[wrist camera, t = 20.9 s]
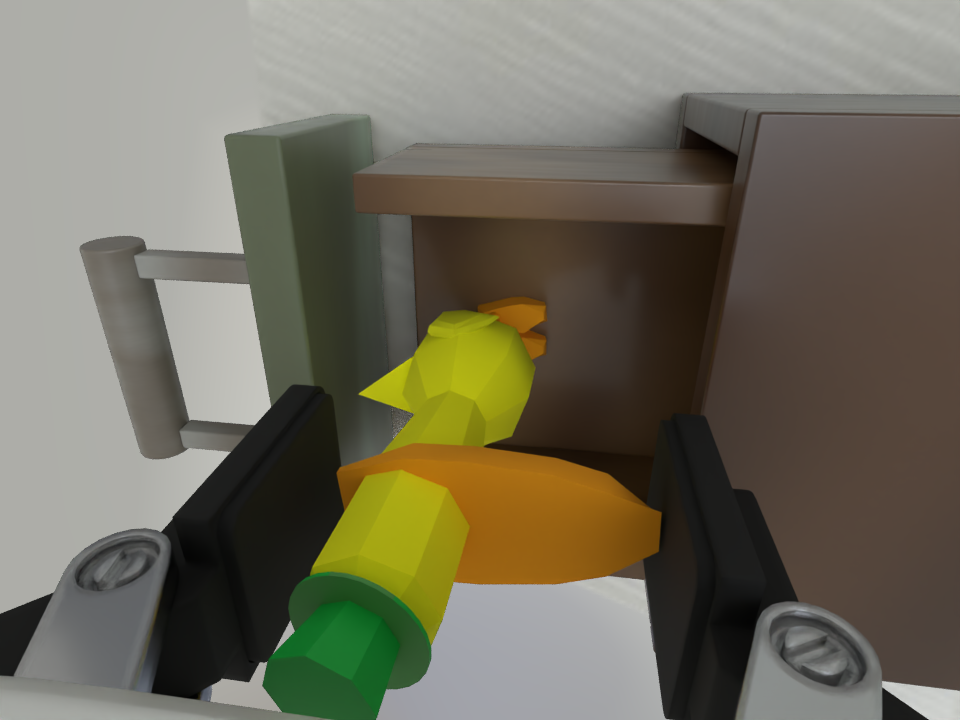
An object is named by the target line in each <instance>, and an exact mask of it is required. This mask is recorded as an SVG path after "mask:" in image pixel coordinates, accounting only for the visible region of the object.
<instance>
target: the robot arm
mask: <svg viewBox="0 0 960 720" xmlns="http://www.w3.org/2000/svg"><path fill="white" fill-rule="evenodd" d="M340 467H341V459H340V450H339V442H338V434H337V426H336V417H335V409H334V401H333V398H332V395H330V394H325V391H324V389H323V388H322V387H321V386H311V385H298V384H293V385H291V386H290V387H289V388H288V389H287V390H286V391H285V392H284V394H283V395H282V396H281V397H280V398H279V399H278V400H277V401H276V402H275V404H274V405H273V406H272V407H271V408H270V409H269V410H268V412H266V414H265V415H264V416H263V417H262V418H261V419H260V420H259V421H258V423H257V424H256V425H255V426H254V427H253V428H252V429H251V430H250V431H249V432H248V434H247V435H246V436H245V437H244V438H243V439H242V440H241V441H240V442H239V444H238V445H237V446H236V447H235V448H234V449H233V450H232V451H231V453H230V454H229V455H228V456H227V457H226V458H225V459H224V460H223V461H222V463H221V464H220V465H219V466H218V467H217V468H216V469H215V470H214V472H213V473H212V474H211V475H210V476H209V477H208V478H207V479H206V480H205V482H204V483H203V484H202V485H201V486H200V487H199V488H198V489H197V490H196V492H195V493H194V494H193V495H192V496H191V497H190V498H189V499H188V501H187V502H186V503H185V504H184V505H183V506H182V507H181V508H180V509H179V511H178V512H177V513H176V514H175V515H174V516H173V519H172V521H171V522H170V523H169V524H168V525H167V526H166V527H165V529H163V531H162V532H159V531H157V530H152V529H145V528H144V529H131V530H126V531H122V532H118V533H114V534H112V535H110V536H107V537H105V538H102V539H100V540H98V541H97V542H95V543H93V544H91V545H90V546H88V547H87V548H85V549H84V550H83V551H81V552H80V553H79V554H78V555H77V556H76V557H75V558H73V560H72V561H71V562H70V564H69V565H68V567H67V568H66V570H65V571H64V573H63V575H62V577H61V580H60V581H59V583H58V585H57V588H56V590H55V592H54V593H51V594H49V595H46V596H44V597H42V598H39V599H36V600H34V601H31V602H29V603H26V604H24V605H21V606H19V607H16V608H14V609H11V610H9V611H6V612H4V613H1V614H0V720H331V719H324V718H318V717H311V716H304V715H298V714H291V713H284V712H277V711H270V710H264V709H257V708H250V707H243V706H235V705H229V704H221V703H215V702H210V699H211V693H212V685H213V684H215V683H217V682H219V681H220V680H221V679H222V678H223V679H230V680H237V681H244V682H249V681H250V680H251V677H252V676H253V674H254V672H255V670H256V668H257V666H258V665H259V663H260V662H263V663H265V662H267V661H268V659H269V658H270V657H271V656H272V654H273V653H274V651H275V649H276V647H277V645H278V643H279V641H280V639H281V637H282V635H283V633H284V631H285V629H286V627H287V626H288V624H289V622H290V615H289V609H288V607H289V600H290V596H291V594H292V593H293V591H294V589H295V587H296V586H297V585H298V584H299V583H300V582H301V581H302V580H304V579H305V578H306V577H309V576H310V574H311V570H312V567H313V565H314V563H315V561H316V560H317V558H318V556H319V555H320V553H321V551H322V549H323V548H324V546H325V544H326V543H327V541H328V539H329V538H330V536H331V534H332V532H333V531H334V529H335V527H336V526H337V524H338V522H339V520H340V519H341V517H342V515H343V514H344V512H345V511H344V506H343V501H342V497H341V492H340V487H339V483H338V478H337V471H338V470H339V468H340ZM646 505H647V506H649V507H650V508H651V509H653V510H656V511H659V512H662V514H661V527H660V540H659V552H657V553H655V554H653V555H651V556H649V557H646V558H644V559H643V564H644V571H645V579H646V586H647V594H648V601H649V608H650V616H651V623H652V631H653V638H654V646H655V653H656V660H657V667H658V676H659V683H660V690H661V698H662V705H663V711H664V716H665V718H666V719H670V720H928V719H927V718H925V717H924V716H923V715H921V714H920V713H918V712H917V711H915V710H914V709H912V708H911V707H910V706H908V705H907V704H905V703H904V702H902V701H901V700H899V699H898V698H897V697H895V696H894V695H892V694H891V693H889V692H888V691H886V690H885V689H884V688H882V670H881V666H880V661H879V657H878V655H877V654H876V652H875V650H874V649H873V647H872V645H871V644H870V642H869V641H868V640H867V639H866V638H865V637H864V636H863V635H862V634H861V633H860V632H859V631H858V630H857V629H856V628H855V627H854V626H853V625H851V624H850V623H848V622H847V621H846V620H844V619H843V618H841V617H840V616H838V615H836V614H834V613H832V612H830V611H828V610H826V609H824V608H822V607H818V606H815V605H811V604H807V603H804V602H799V601H798V598H797V596H796V593H795V591H794V589H793V586H792V584H791V581H790V579H789V576H788V574H787V572H786V569H785V567H784V564H783V562H782V560H781V557H780V555H779V552H778V550H777V548H776V545H775V543H774V540H773V538H772V536H771V533H770V531H769V528H768V526H767V524H766V521H765V519H764V516H763V514H762V511H761V509H760V507H759V504H758V502H757V499H756V497H755V496H754V494H753V492H751V491H750V490H744V489H733V488H732V486H731V483H730V481H729V478H728V475H727V472H726V470H725V467H724V464H723V462H722V459H721V456H720V453H719V451H718V448H717V445H716V443H715V440H714V437H713V435H712V432H711V429H710V426H709V424H708V421H707V418H706V417H705V416H704V415H693V414H680V413H673V414H672V416H671V419H670V420H661V421H660V424H659V429H658V435H657V442H656V448H655V454H654V460H653V467H652V473H651V479H650V485H649V491H648V498H647V504H646Z"/></svg>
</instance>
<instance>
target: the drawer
mask: <svg viewBox="0 0 960 720" xmlns="http://www.w3.org/2000/svg"><path fill="white" fill-rule="evenodd" d="M224 141H225V147H226V152H227V158H228V164H229V169H230V175H231V180H232V186H233V192H234V198H235V203H236V209H237V214H238V220H239V226H240V231H241V238H242V243H243V248H244V254H235V253H234V254H233V253H213V252H192V251H170V250H147V249H146V245H145V242H144V240H143V239H142V238H139V237H133V236H117V237H107V238H102V239H96V240H93V241H89V242H87V243H85V244H83V245H81V246H80V253H81V256H82V259H83V262H84V266H85V269H86V272H87V275H88V279H89V282H90V286H91V289H92V292H93V296H94V299H95V302H96V306H97V309H98V312H99V316H100V319H101V322H102V325H103V329H104V332H105V336H106V339H107V342H108V346H109V349H110V352H111V356H112V359H113V362H114V365H115V369H116V372H117V376H118V379H119V382H120V386H121V389H122V392H123V395H124V399H125V402H126V406H127V408H128V412H129V416H130V419H131V422H132V425H133V428H134V432H135V435H136V439H137V442H138V445H139V449H140V452H141V454H142V455H143V456H144V457H146V458H149V459H165V458H170V457H173V456H176V455H178V454H180V453H182V452H184V451H186V450H187V449H188V448H196V449H207V450H218V451H228V452H231V451H232V450H233V449H234V448H235V447H236V446H237V445H238V444H239V442H240V441H241V440H242V439H243V438H244V437H245V436H246V435H247V434H248V432H249V431H250V430H251V429H252V428H253V427H254V426H255V425H245V424H233V423H221V422H209V421H198V420H190V421H189V417H188V413H187V409H186V406H185V402H184V397H183V394H182V390H181V385H180V382H179V377H178V373H177V369H176V365H175V361H174V358H173V353H172V349H171V345H170V342H169V337H168V334H167V329H166V325H165V321H164V317H163V313H162V309H161V305H160V301H159V298H158V293H157V290H156V285H155V282H154V279H164V280H183V281H201V282H219V283H238V284H250V288H251V294H252V300H253V306H254V311H255V317H256V323H257V328H258V334H259V340H260V345H261V351H262V357H263V362H264V368H265V373H266V380H267V385H268V391H269V397H270V402H271V407H272V406H273V405H274V404H275V402H276V401H277V400H278V399H279V398H280V397H281V396H282V395H283V394H284V392H285V391H286V390H287V389H288V388H289V387H290V386H291V385H293V384H298V385H311V386H321V387H322V388H323V389H324V391H325V394H330V395H332V398H333V401H334V409H335V417H336V426H337V434H338V442H339V450H340V459H341V467H343V466H346V465H349V464H352V463H355V462H358V461H361V460H364V459H367V458H370V457H373V456H376V455H379V454H381V453H382V452H383V451H384V450H385V449H386V447H387V446H388V445H389V444H390V443H391V442H392V440H393V426H392V413H391V405H388V404H385V403H382V402H379V401H376V400H373V399H371V398H368V397H365V396H362V395H359V393H360V392H362V391H363V390H365V389H366V388H368V387H369V386H371V385H372V384H373V383H375V382H376V381H378V380H379V379H381V378H382V377H384V376H385V375H387V374H388V373H389V371H388V358H387V344H386V330H385V316H384V303H383V289H382V275H381V261H380V248H379V234H378V220H377V214H393V215H411V218H412V239H413V260H414V281H415V302H416V323H417V344H418V347H419V346H420V344H421V343H422V341H423V340H424V338H425V337H426V335H427V334H428V332H427V331H428V328H429V325H430V324H432V323H433V322H434V321H435V320H436V319H437V318H438V317H439V316H440V315H441V314H442V313H443V312H446V311H457V310H468V311H473V312H478V305H481V304H485V303H489V302H493V301H498V300H502V299H506V298H510V297H523V296H524V297H528V298H531V299H535V300H538V301H542V302H545V305H546V312H547V321H546V322H543V323H540V324H538V325H535V326H534V327H532V328H531V329H529V330H530V331H533V332H536V333H538V334H541V335H544V336H545V337H546V340H547V343H546V355H543V356H539V357H536V358H535V359H533V360H532V361H533V363H534V365H535V367H536V368H535V373H534V377H533V381H532V385H531V390H530V394H529V398H528V400H527V403H526V405H525V407H524V409H523V412H522V414H521V416H520V419H519V421H518V423H517V425H516V428H515V430H514V432H513V435H512V436H511V437H508V438H505V439H502V440H499V441H496V442H492V443H489V444H487V445H485V446H484V447H485V448H491V449H498V450H505V451H512V452H519V453H526V454H533V455H539V456H546V457H553V458H558V459H561V460H565V461H568V462H571V463H575V464H578V465H581V466H584V467H588V468H591V469H594V470H597V471H601V472H604V473H607V474H609V475H610V476H612V477H613V478H614V479H615V480H617V481H618V482H619V483H620V484H621V485H623V486H624V487H625V488H626V489H628V490H629V491H630V492H631V493H633V494H634V495H635V496H636V497H637V498H639V499H640V500H641V501H642V502H644V503H645V504H647V498H648V491H649V485H650V479H651V473H652V467H653V460H654V454H655V448H656V442H657V435H658V429H659V424H660V421H661V420H670V419H671V416H672V414H673V413H680V414H690V413H691V408H692V402H693V397H694V392H695V386H696V381H697V376H698V370H699V365H700V360H701V354H702V349H703V343H704V338H705V333H706V327H707V322H708V317H709V311H710V306H711V301H712V295H713V290H714V285H715V279H716V274H717V269H718V263H719V258H720V253H721V247H722V242H723V236H724V231H725V226H726V220H727V215H728V210H729V204H730V199H731V194H732V188H733V183H734V178H735V172H736V167H737V162H738V155H736V154H734V153H732V152H730V151H728V150H711V149H663V148H615V147H567V146H519V145H471V144H423V143H416V144H414V145H412V146H410V147H408V148H406V149H404V150H402V151H399V152H397V153H395V154H393V155H391V156H389V157H387V158H385V159H383V160H381V161H379V162H377V163H375V164H373V151H372V137H371V124H370V117H369V115H359V114H330V115H325V116H319V117H314V118H309V119H304V120H299V121H294V122H289V123H284V124H279V125H273V126H268V127H263V128H258V129H253V130H249V131H243V132H238V133H233V134H228V135H226V136H225V138H224ZM608 576H614V577H623V578H632V579H641V580H646V579H645V571H644V564H643V559H642V560H640V561H638V562H636V563H634V564H632V565H629V566H627V567H625V568H623V569H621V570H619V571H617V572H615V573H613V574H610V575H608Z"/></svg>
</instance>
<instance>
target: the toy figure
mask: <svg viewBox="0 0 960 720" xmlns="http://www.w3.org/2000/svg"><path fill="white" fill-rule="evenodd" d="M546 321H547V312H546V305H545V302H542V301H538V300H535V299H531V298H528V297H524V296H523V297H510V298H506V299H502V300H498V301H493V302H489V303H485V304H481V305H478V312H473V311H468V310H457V311H446V312H443V313H442V314H441V315H440V316H439V317H438V318H437V319H436V320H435V321H434V322H433V323H432V324H430V325H429V328H428V331H427V332H428V334H427V335H426V337H425V338H424V340H423V341H422V343H421V344H420V346H419V347H418V349H417V350H416V352H415V353H414V356H413V357H411V358H410V359H408V360H407V361H406V362H404V363H403V364H401V365H400V366H398V367H397V368H395V369H394V370H392V371H391V372H389V373H388V374H387V375H385V376H384V377H382V378H381V379H379V380H378V381H376V382H375V383H373V384H372V385H371V386H369V387H368V388H366V389H365V390H363V391H362V392H360V393H359V395H362V396H365V397H368V398H371V399H373V400H376V401H379V402H382V403H385V404H388V405H391V406H394V407H396V408H399V409H402V410H405V411H408V412H411V413H414V416H413V417H412V418H411V419H410V420H409V421H408V423H407V424H406V425H405V426H404V427H403V429H402V430H401V431H400V432H399V433H398V434H397V436H396V437H395V438H394V439H393V440H392V442H391V443H390V444H389V445H388V446H387V447H386V449H385V450H384V451H383V452H382V453H381V454H379V455H376V456H373V457H370V458H367V459H364V460H361V461H358V462H355V463H352V464H349V465H346V466H343V467H340V468H339V470H338V471H337V478H338V483H339V487H340V492H341V497H342V501H343V506H344V511H345V512H344V514H343V515H342V517H341V519H340V520H339V522H338V524H337V526H336V527H335V529H334V531H333V532H332V534H331V536H330V538H329V539H328V541H327V543H326V544H325V546H324V548H323V549H322V551H321V553H320V555H319V556H318V558H317V560H316V561H315V563H314V565H313V567H312V570H311V574H310V576H309V577H306V578H305V579H304V580H302V581H301V582H300V583H299V584H298V585H297V586H296V587H295V589H294V591H293V593H292V594H291V596H290V600H289V607H288V609H289V615H290V620H291V623H292V625H293V627H294V630H295V632H294V634H292V635H291V636H290V637H289V638H288V639H287V640H286V641H285V642H284V643H283V644H282V645H281V646H280V647H279V648H278V650H277V651H276V652H275V653H274V654H273V655H272V656H271V657H270V658H269V659H268V662H267V667H266V671H265V676H264V681H263V685H262V686H263V687H264V689H265V690H266V691H267V693H268V694H269V695H270V696H271V698H272V699H273V701H274V702H275V703H276V704H277V706H278V707H279V708H280V710H281V711H282V712H284V713H291V714H298V715H304V716H311V717H318V718H324V719H331V720H376V718H377V715H378V712H379V709H380V706H381V703H382V700H383V697H384V694H385V691H386V689H400V688H405V687H409V686H411V685H413V684H415V683H416V682H418V681H419V680H420V679H421V678H422V677H423V676H424V675H425V674H426V672H427V669H428V667H429V664H430V661H431V645H432V643H433V640H434V638H435V636H436V634H437V631H438V629H439V626H440V624H441V622H442V620H443V616H444V613H445V610H446V606H447V603H448V599H449V596H450V592H451V589H452V586H453V582H458V583H470V584H561V583H567V582H574V581H580V580H586V579H593V578H599V577H606V576H608V575H610V574H613V573H615V572H617V571H619V570H621V569H623V568H625V567H627V566H629V565H632V564H634V563H636V562H638V561H640V560H642V559H644V558H646V557H649V556H651V555H653V554H655V553H657V552H659V540H660V527H661V514H662V512H659V511H656V510H653V509H651V508H650V507H649V506H647V505H646V504H645V503H644V502H642V501H641V500H640V499H639V498H637V497H636V496H635V495H634V494H633V493H631V492H630V491H629V490H628V489H626V488H625V487H624V486H623V485H621V484H620V483H619V482H618V481H617V480H615V479H614V478H613V477H612V476H610V475H609V474H607V473H604V472H601V471H597V470H594V469H591V468H588V467H584V466H581V465H578V464H575V463H571V462H568V461H565V460H561V459H558V458H553V457H546V456H539V455H533V454H526V453H519V452H512V451H505V450H498V449H491V448H485V447H484V446H485V445H487V444H489V443H492V442H496V441H499V440H502V439H505V438H508V437H511V436H512V435H513V432H514V430H515V428H516V425H517V423H518V421H519V419H520V416H521V414H522V412H523V409H524V407H525V405H526V403H527V400H528V398H529V394H530V390H531V385H532V381H533V377H534V373H535V368H536V367H535V365H534V363H533V361H532V360H533V359H535V358H536V357H539V356H543V355H546V343H547V340H546V337H545V336H544V335H541V334H538V333H536V332H533V331H530V330H529V329H531V328H532V327H534V326H535V325H538V324H540V323H543V322H546Z"/></svg>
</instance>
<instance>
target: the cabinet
mask: <svg viewBox="0 0 960 720" xmlns="http://www.w3.org/2000/svg"><path fill="white" fill-rule="evenodd" d="M675 149H711V150H728V151H730V152H732V153H734V154H736V155H738V162H737V167H736V172H735V178H734V183H733V188H732V194H731V199H730V204H729V210H728V215H727V220H726V226H725V231H724V236H723V242H722V247H721V253H720V258H719V263H718V269H717V274H716V279H715V285H714V290H713V295H712V301H711V306H710V311H709V317H708V322H707V327H706V333H705V338H704V343H703V349H702V354H701V360H700V365H699V370H698V376H697V381H696V386H695V392H694V397H693V402H692V408H691V413H690V414H693V415H704V416H705V417H706V418H707V421H708V424H709V426H710V429H711V432H712V435H713V437H714V440H715V443H716V445H717V448H718V451H719V453H720V456H721V459H722V462H723V464H724V467H725V470H726V472H727V475H728V478H729V481H730V483H731V486H732V488H733V489H744V490H750V491H751V492H753V494H754V496H755V497H756V499H757V502H758V504H759V507H760V509H761V511H762V514H763V516H764V519H765V521H766V524H767V526H768V528H769V531H770V533H771V536H772V538H773V540H774V543H775V545H776V548H777V550H778V552H779V555H780V557H781V560H782V562H783V564H784V567H785V569H786V572H787V574H788V576H789V579H790V581H791V584H792V586H793V589H794V591H795V593H796V596H797V598H798V601H799V602H804V603H807V604H811V605H815V606H818V607H822V608H824V609H826V610H828V611H830V612H832V613H834V614H836V615H838V616H840V617H841V618H843V619H844V620H846V621H847V622H848V623H850V624H851V625H853V626H854V627H855V628H856V629H857V630H858V631H859V632H860V633H861V634H862V635H863V636H864V637H865V638H866V639H867V640H868V641H869V642H870V644H871V645H872V647H873V649H874V650H875V652H876V654H877V655H878V657H879V661H880V666H881V670H882V681H886V682H894V683H902V684H910V685H918V686H926V687H934V688H942V689H950V690H958V691H960V95H871V94H764V93H685V94H684V95H683V97H682V104H681V111H680V119H679V126H678V133H677V140H676V147H675ZM644 581H645V589H646V596H647V604H648V611H649V619H650V623H651V616H650V608H649V601H648V594H647V586H646V580H644ZM651 635H652V642H653V649H654V652H655V646H654V638H653V631H652V623H651Z"/></svg>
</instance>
